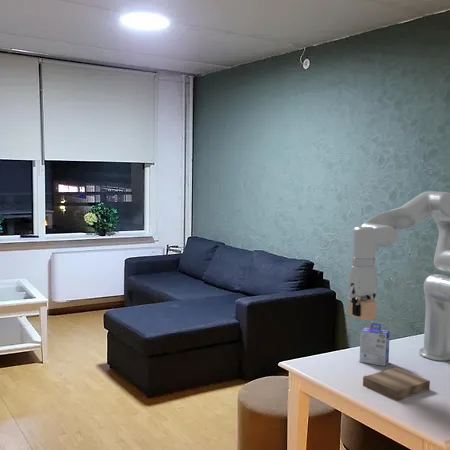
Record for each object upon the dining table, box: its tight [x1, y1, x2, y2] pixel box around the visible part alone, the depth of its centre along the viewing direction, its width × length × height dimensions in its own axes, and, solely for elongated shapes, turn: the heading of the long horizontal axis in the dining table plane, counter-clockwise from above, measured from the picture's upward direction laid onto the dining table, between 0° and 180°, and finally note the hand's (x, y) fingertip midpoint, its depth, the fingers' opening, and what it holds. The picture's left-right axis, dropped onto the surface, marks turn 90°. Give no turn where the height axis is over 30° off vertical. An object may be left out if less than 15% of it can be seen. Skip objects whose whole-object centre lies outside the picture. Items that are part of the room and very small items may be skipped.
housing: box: [348, 296, 378, 321], centre depth 188 cm, size 5×8×7 cm, turn 33°
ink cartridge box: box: [358, 322, 391, 367], centre depth 203 cm, size 10×6×14 cm, turn 62°
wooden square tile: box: [362, 367, 431, 401], centre depth 180 cm, size 16×14×3 cm
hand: (362, 313), depth 189 cm, fingers closed on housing, 5 cm apart
